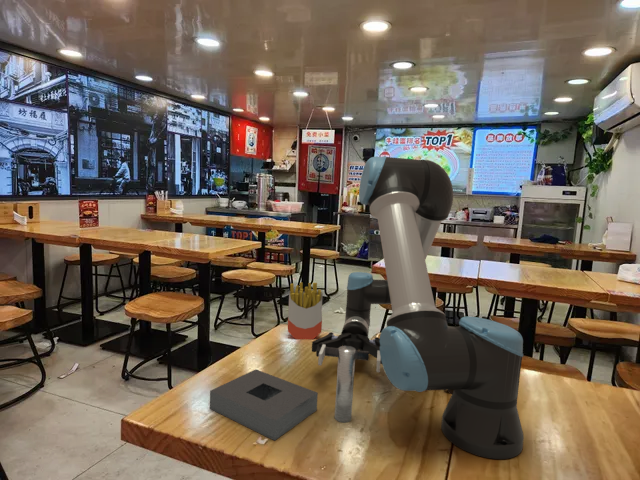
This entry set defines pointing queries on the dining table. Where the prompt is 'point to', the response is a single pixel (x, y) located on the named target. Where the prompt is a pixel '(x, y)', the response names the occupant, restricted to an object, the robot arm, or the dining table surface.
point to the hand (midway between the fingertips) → (348, 363)
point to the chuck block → (264, 403)
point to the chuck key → (345, 378)
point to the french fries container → (305, 312)
